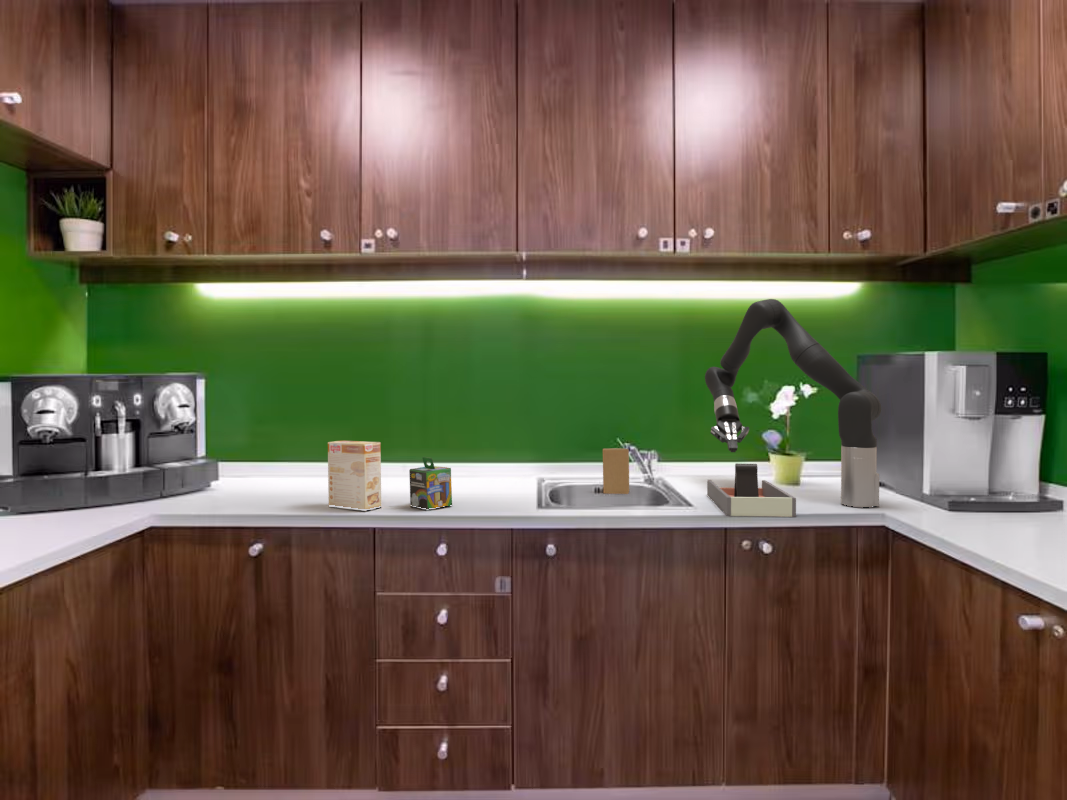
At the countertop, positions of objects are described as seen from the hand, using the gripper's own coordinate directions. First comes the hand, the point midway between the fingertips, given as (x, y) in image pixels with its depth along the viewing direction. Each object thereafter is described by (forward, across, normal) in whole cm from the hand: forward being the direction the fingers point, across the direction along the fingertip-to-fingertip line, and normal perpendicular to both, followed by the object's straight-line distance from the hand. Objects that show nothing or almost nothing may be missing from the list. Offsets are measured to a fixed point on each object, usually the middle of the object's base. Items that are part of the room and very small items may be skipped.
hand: (733, 450), depth 210 cm
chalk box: (+31, -93, -11) cm, 99 cm away
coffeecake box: (+33, -115, -13) cm, 120 cm away
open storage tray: (+24, 0, -4) cm, 25 cm away
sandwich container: (+7, -38, +13) cm, 40 cm away
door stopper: (+23, 0, -3) cm, 23 cm away
